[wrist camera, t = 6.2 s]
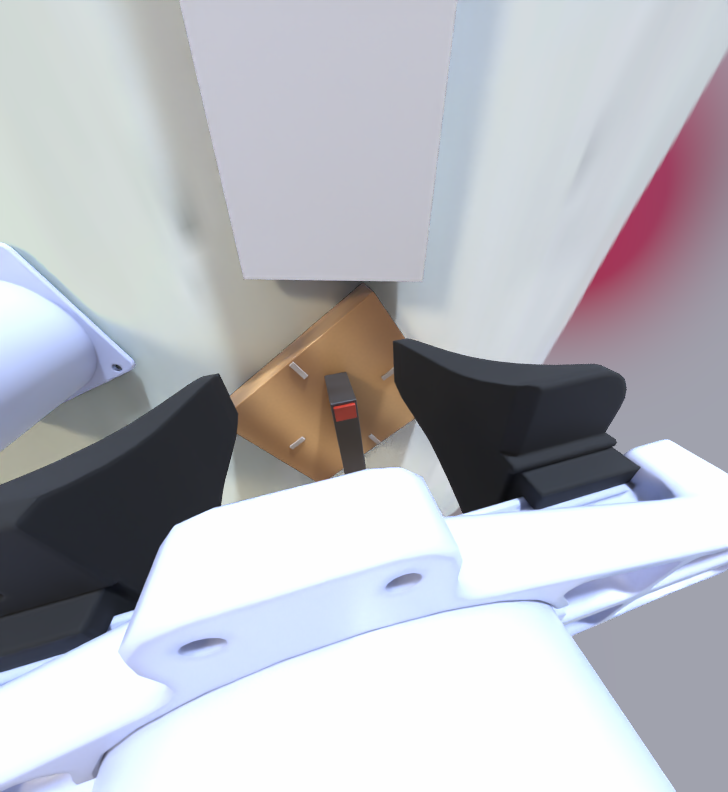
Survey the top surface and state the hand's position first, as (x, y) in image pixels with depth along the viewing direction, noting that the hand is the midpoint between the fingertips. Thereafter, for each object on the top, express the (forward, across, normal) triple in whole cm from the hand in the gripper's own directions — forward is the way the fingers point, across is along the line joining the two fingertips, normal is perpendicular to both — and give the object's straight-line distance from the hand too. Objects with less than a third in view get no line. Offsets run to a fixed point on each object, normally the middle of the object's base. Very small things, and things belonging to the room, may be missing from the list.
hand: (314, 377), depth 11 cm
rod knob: (+6, -1, +7) cm, 9 cm away
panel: (+9, -1, +7) cm, 12 cm away
